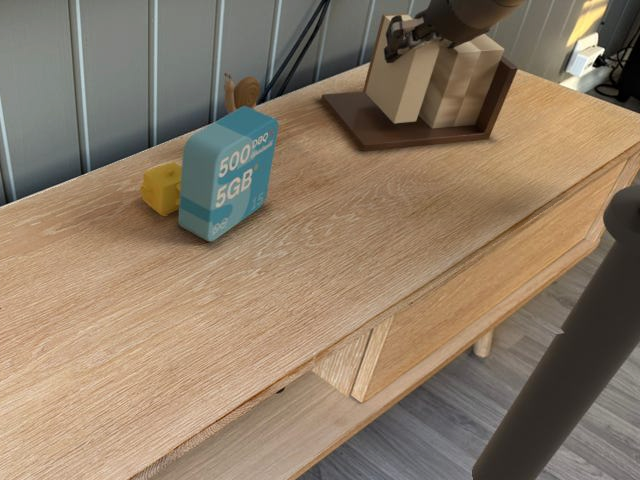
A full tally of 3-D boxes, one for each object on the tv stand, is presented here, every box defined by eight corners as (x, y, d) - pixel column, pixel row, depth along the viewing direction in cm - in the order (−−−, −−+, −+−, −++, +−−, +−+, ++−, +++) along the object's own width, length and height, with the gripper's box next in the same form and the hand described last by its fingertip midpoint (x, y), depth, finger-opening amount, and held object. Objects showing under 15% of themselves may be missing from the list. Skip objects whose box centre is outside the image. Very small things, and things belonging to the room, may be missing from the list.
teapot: (156, 231, 84) (157, 193, 80) (128, 207, 87) (129, 170, 83) (208, 209, 87) (212, 173, 84) (180, 187, 91) (182, 151, 87)
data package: (206, 247, 82) (216, 154, 74) (176, 230, 84) (182, 138, 76) (265, 204, 89) (281, 115, 80) (236, 190, 91) (249, 101, 82)
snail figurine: (203, 152, 97) (211, 65, 88) (236, 137, 100) (247, 52, 91) (231, 169, 94) (242, 81, 85) (264, 154, 97) (278, 68, 88)
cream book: (384, 88, 107) (405, 12, 99) (416, 121, 100) (442, 42, 92) (362, 90, 106) (382, 14, 98) (393, 123, 100) (417, 44, 92)
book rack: (437, 91, 112) (464, 12, 104) (488, 139, 103) (523, 56, 94) (320, 100, 109) (338, 19, 100) (362, 151, 99) (385, 66, 90)
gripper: (530, -41, 83) (443, 25, 100) (421, -37, 80) (350, 30, 97) (537, 24, 83) (449, 78, 100) (429, 31, 80) (357, 86, 97)
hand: (401, 54), depth 98 cm, fingers closed on cream book, 3 cm apart
